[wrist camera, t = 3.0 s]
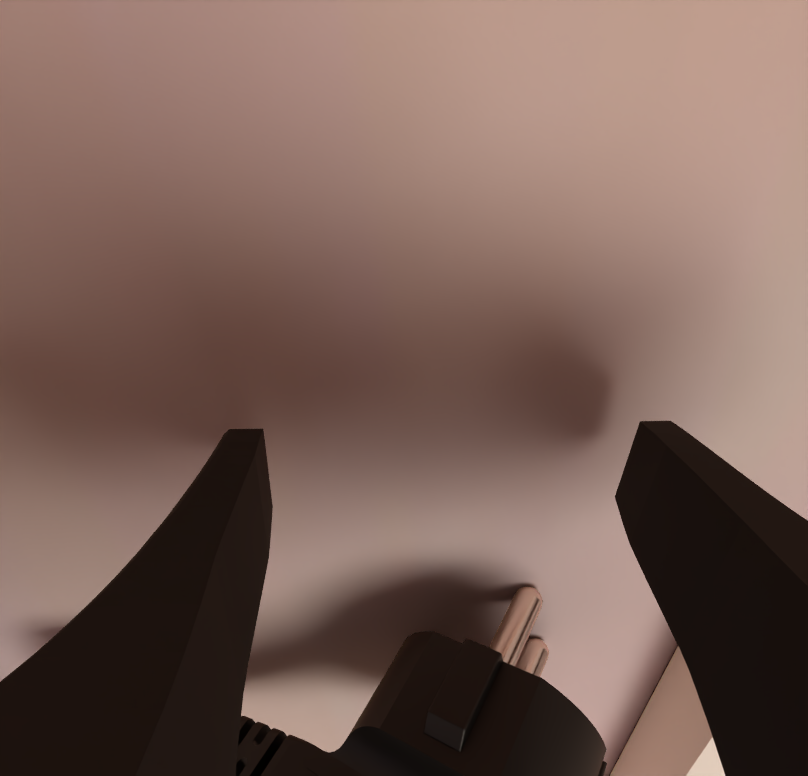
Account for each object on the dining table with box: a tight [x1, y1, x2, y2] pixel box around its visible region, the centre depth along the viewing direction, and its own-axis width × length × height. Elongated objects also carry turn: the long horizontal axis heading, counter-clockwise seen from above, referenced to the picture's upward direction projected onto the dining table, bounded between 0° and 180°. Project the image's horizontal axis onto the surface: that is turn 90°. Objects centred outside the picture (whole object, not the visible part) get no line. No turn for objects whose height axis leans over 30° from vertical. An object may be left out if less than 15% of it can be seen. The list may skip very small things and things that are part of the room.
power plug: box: [235, 586, 607, 776], centre depth 17 cm, size 6×8×12 cm
